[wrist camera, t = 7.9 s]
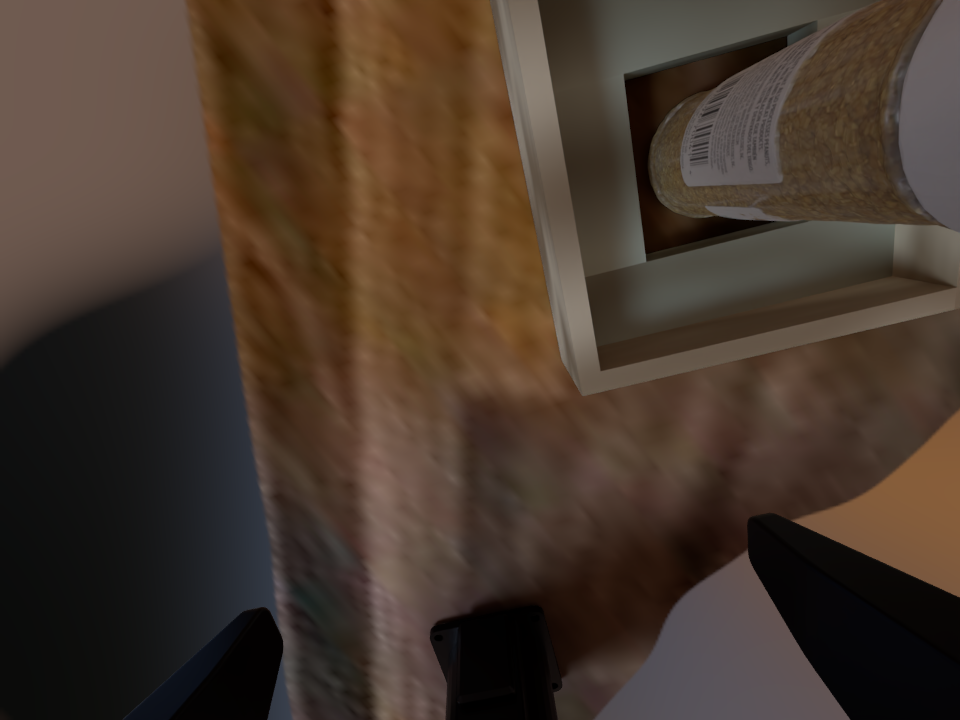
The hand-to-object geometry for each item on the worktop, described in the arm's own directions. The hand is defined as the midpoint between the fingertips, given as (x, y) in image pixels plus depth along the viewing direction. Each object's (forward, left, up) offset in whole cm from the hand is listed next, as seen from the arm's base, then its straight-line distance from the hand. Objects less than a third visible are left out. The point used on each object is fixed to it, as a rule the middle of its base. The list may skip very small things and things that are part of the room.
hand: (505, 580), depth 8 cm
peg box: (+6, -10, -13) cm, 17 cm away
